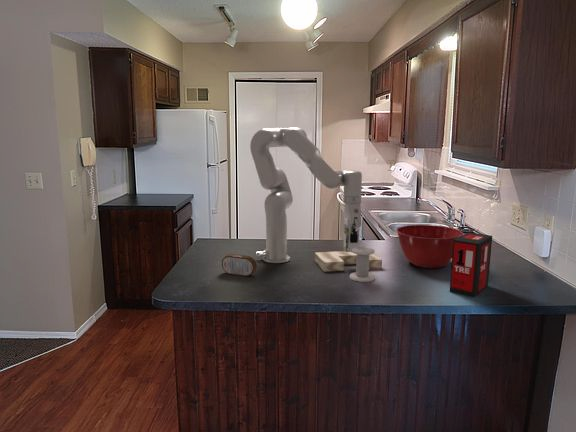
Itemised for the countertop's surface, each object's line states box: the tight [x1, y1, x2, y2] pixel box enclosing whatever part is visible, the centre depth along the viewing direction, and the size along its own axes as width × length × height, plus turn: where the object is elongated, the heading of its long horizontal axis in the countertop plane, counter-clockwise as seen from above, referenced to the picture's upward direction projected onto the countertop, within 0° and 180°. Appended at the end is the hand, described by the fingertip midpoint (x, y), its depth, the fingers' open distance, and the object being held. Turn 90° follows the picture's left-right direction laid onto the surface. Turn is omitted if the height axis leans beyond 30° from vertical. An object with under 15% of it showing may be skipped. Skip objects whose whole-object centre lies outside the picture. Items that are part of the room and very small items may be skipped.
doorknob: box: [349, 246, 376, 283], centre depth 183 cm, size 10×10×12 cm
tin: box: [221, 253, 258, 277], centre depth 187 cm, size 15×3×8 cm, turn 71°
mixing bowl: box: [396, 224, 464, 269], centre depth 203 cm, size 28×28×15 cm
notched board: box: [314, 250, 383, 272], centre depth 202 cm, size 26×16×4 cm, turn 101°
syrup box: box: [343, 218, 361, 252], centre depth 196 cm, size 6×6×14 cm
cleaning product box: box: [449, 232, 493, 298], centre depth 171 cm, size 16×9×20 cm, turn 140°
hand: (351, 240), depth 197 cm, fingers closed on syrup box, 6 cm apart
